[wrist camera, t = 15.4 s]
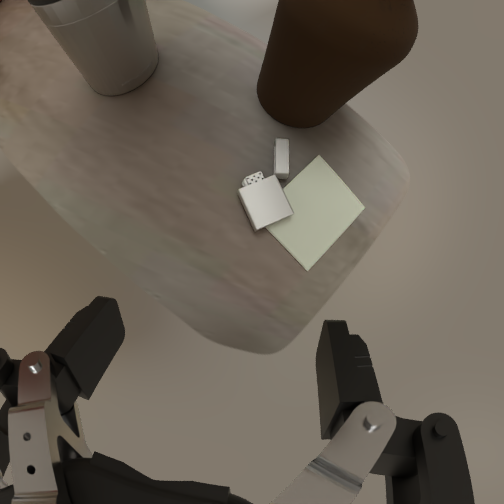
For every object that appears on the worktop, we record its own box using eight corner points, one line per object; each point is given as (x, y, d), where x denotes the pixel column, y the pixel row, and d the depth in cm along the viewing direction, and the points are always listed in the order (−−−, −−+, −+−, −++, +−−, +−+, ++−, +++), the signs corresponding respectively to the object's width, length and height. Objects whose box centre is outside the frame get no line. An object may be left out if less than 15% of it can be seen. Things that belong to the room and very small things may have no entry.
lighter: (255, 230, 27) (222, 157, 27) (254, 231, 29) (223, 163, 29) (320, 201, 27) (286, 133, 27) (316, 205, 29) (283, 139, 29)
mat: (254, 216, 29) (255, 216, 29) (317, 155, 30) (319, 154, 29) (306, 270, 30) (307, 271, 30) (363, 208, 31) (365, 207, 30)
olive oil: (266, 141, 29) (391, -45, 4) (240, 64, 28) (289, -117, 3) (349, 127, 30) (509, 19, 6) (319, 57, 29) (420, -76, 5)
